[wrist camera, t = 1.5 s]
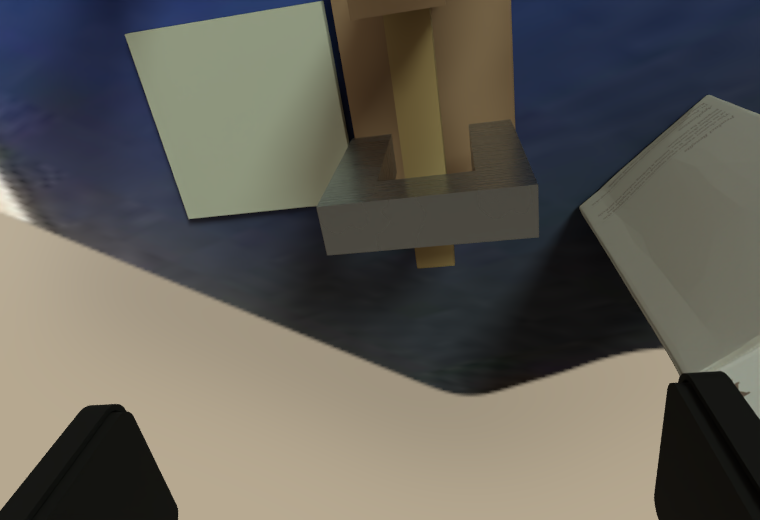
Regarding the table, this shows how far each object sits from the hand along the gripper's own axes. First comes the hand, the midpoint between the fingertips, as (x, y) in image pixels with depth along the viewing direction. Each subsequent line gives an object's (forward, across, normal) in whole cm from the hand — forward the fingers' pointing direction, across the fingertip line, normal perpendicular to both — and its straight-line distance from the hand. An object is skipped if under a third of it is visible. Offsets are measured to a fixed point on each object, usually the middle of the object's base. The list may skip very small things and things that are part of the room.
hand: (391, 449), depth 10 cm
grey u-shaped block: (+17, -1, 0) cm, 17 cm away
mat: (+21, +9, -2) cm, 23 cm away
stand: (+21, -1, -4) cm, 21 cm away
